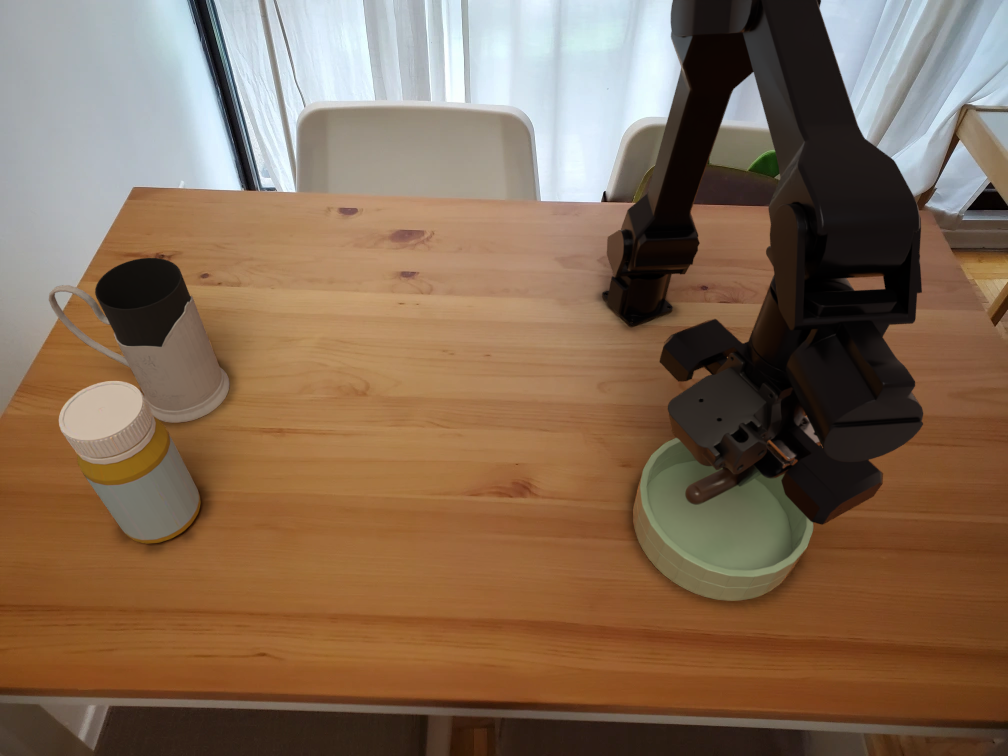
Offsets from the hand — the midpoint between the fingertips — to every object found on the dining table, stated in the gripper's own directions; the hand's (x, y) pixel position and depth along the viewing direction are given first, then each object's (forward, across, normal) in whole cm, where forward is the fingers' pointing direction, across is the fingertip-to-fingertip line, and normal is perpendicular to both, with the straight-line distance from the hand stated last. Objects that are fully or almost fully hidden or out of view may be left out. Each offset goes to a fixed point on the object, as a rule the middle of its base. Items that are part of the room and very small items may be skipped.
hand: (734, 474), depth 62 cm
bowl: (+8, 0, 0) cm, 8 cm away
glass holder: (+8, -41, -42) cm, 59 cm away
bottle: (+8, -25, -45) cm, 52 cm away
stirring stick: (+1, 0, 0) cm, 1 cm away
